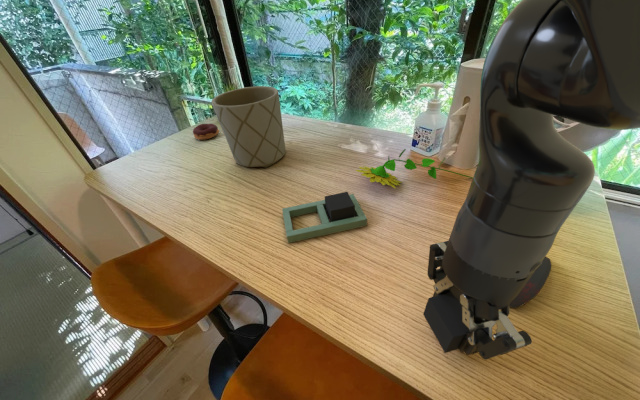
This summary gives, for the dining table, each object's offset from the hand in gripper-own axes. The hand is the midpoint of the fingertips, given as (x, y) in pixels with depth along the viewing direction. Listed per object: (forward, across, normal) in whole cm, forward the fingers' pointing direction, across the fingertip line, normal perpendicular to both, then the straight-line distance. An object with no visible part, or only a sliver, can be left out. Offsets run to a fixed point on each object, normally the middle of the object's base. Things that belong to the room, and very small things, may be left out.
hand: (451, 326), depth 35 cm
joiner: (+2, -29, -12) cm, 32 cm away
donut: (+3, -93, -46) cm, 104 cm away
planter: (+2, -66, -25) cm, 71 cm away
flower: (+2, -38, +14) cm, 40 cm away
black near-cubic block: (+2, -29, -8) cm, 31 cm away
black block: (+1, 0, 0) cm, 1 cm away
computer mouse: (+2, -6, +16) cm, 18 cm away
